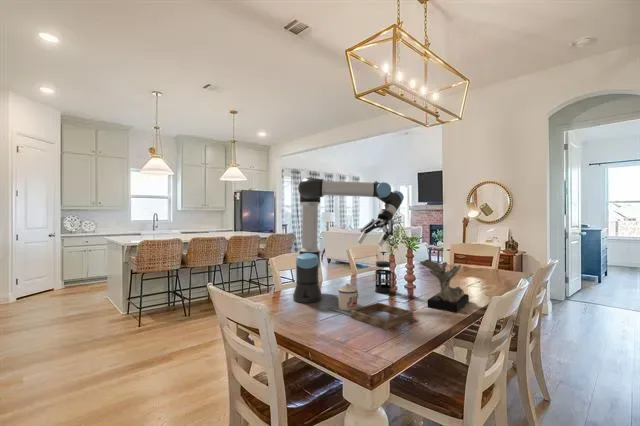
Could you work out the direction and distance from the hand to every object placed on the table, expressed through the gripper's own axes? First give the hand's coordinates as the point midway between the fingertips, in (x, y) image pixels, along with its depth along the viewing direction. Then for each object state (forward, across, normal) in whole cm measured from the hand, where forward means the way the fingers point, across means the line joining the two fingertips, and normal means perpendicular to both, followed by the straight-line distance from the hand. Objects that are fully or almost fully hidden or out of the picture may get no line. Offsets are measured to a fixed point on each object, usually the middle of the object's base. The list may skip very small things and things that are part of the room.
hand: (369, 243), depth 167 cm
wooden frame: (+33, -21, -9) cm, 40 cm away
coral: (+6, -28, -37) cm, 47 cm away
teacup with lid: (+33, -3, -8) cm, 34 cm away
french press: (+7, +6, -36) cm, 37 cm away
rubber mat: (+34, -3, -8) cm, 35 cm away
